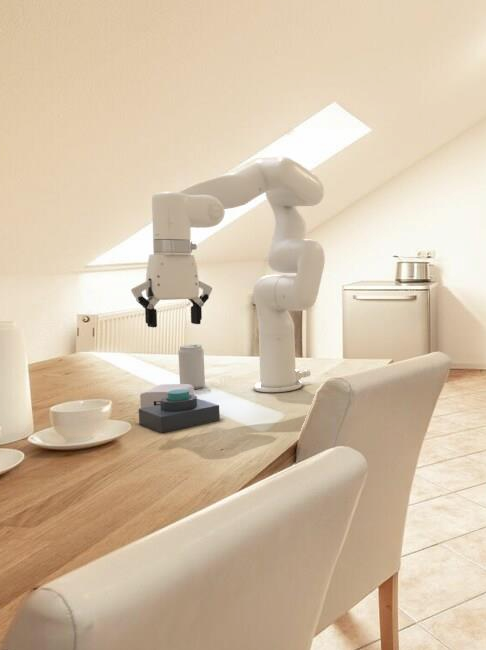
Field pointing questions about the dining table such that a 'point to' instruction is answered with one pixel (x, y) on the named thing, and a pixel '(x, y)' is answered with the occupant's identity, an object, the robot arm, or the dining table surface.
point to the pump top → (178, 395)
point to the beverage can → (192, 365)
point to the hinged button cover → (161, 393)
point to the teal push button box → (178, 414)
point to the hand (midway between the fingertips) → (174, 325)
